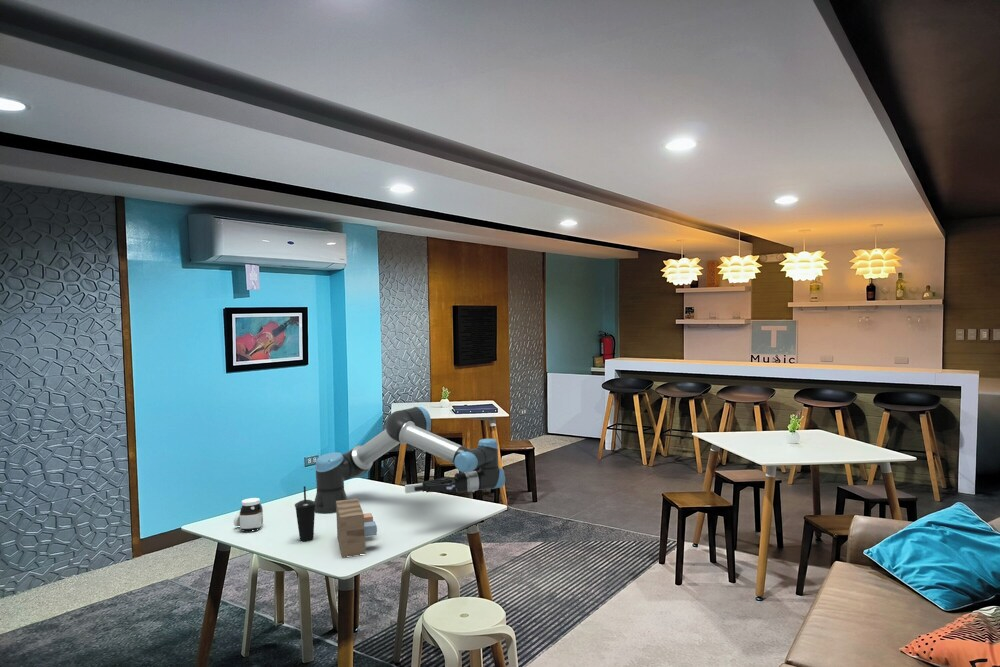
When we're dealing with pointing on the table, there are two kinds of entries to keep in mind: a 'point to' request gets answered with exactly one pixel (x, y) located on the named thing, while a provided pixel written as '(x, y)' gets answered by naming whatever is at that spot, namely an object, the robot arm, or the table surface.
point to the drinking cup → (305, 518)
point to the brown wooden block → (350, 527)
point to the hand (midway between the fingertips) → (405, 489)
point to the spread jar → (250, 515)
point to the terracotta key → (368, 517)
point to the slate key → (370, 528)
